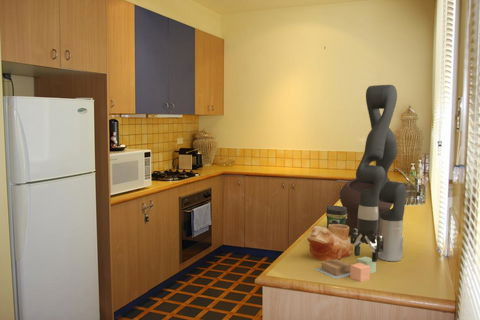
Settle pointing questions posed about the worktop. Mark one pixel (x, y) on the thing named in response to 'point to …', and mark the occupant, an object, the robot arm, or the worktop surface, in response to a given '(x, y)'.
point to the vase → (357, 202)
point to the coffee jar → (336, 215)
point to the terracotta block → (360, 272)
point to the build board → (331, 274)
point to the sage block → (368, 263)
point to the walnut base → (336, 267)
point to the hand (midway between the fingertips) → (365, 258)
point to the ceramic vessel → (330, 242)
